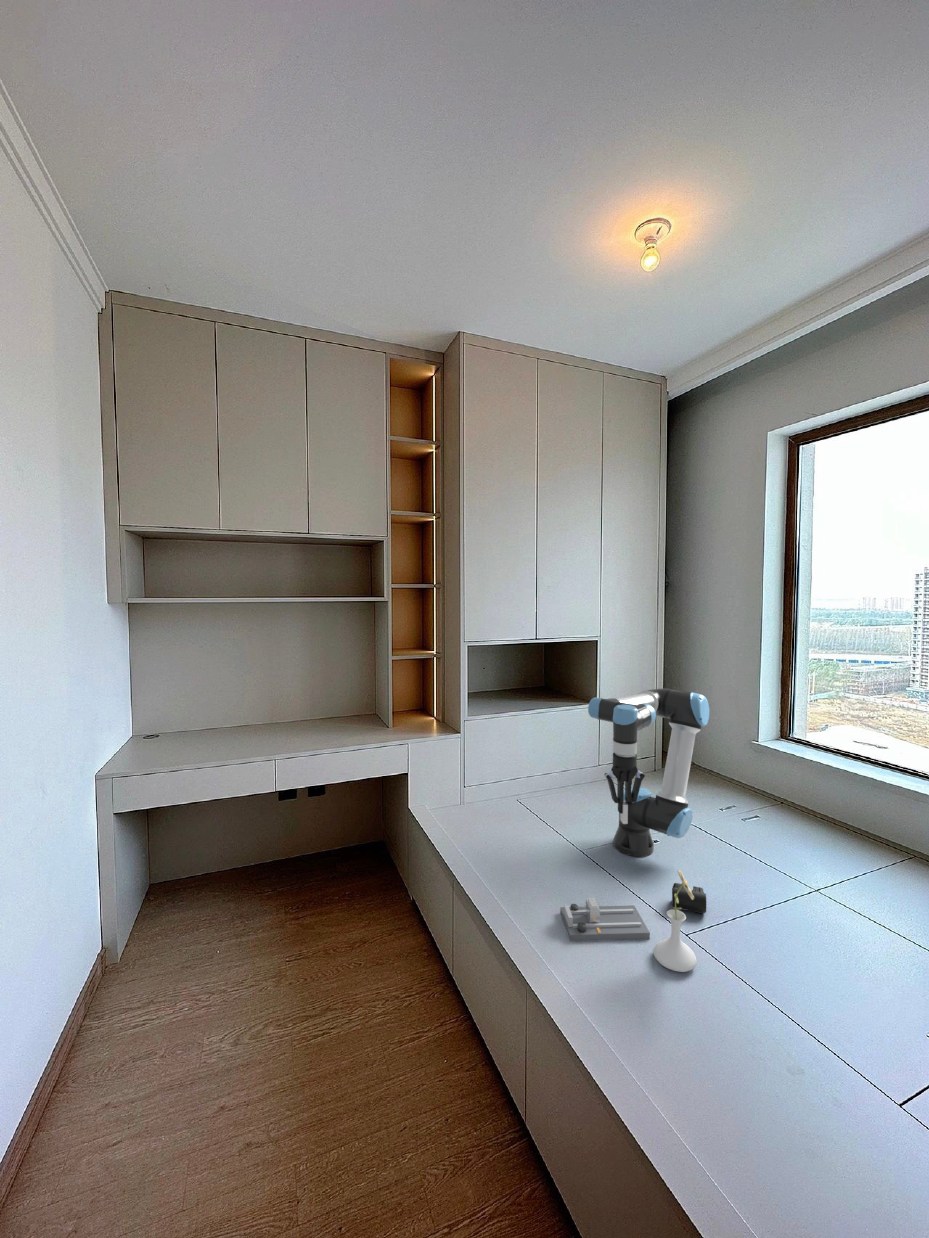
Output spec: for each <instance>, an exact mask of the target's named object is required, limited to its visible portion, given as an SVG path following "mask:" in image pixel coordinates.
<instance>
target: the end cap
mask: <svg viewBox="0 0 929 1238" xmlns="http://www.w3.org/2000/svg"><path fill="white" fill-rule="evenodd" d="M681 884H682V883H679V882H678V883H677V882H674V883H673V885H672V891H671V906H672V908H673V909H675V896H674V894H676V893H677V891H678V890H679V888H680V887H681ZM691 891H692V892H691V893H692V894H693V896H694V898H693V899H694V900H692V899H691V898H690V896H689V895H688V893H687V891H686V889H685V888H683V887H682V888H681V889H680V891H679V893H678V895H677V897H678V900H679V903H677V902H676V908H682V909H681V910H684V911H687V912H694V913H698V914H706V913H707V894H706V893H705V891H704V888H703V887H700V886H696V885H694V886H692V889H691Z"/></svg>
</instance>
